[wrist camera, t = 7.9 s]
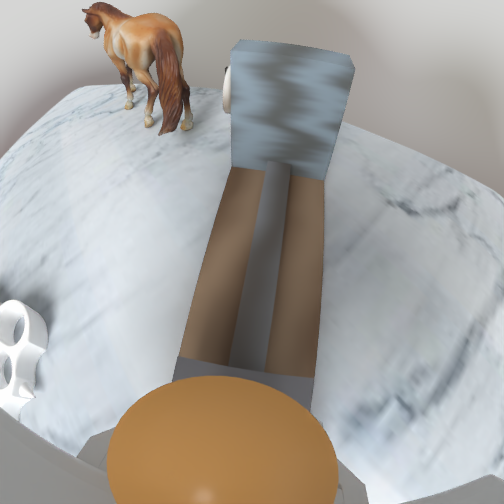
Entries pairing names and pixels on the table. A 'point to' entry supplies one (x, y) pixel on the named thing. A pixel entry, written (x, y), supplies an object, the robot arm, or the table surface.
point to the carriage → (223, 441)
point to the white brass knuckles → (20, 354)
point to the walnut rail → (233, 269)
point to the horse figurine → (146, 59)
